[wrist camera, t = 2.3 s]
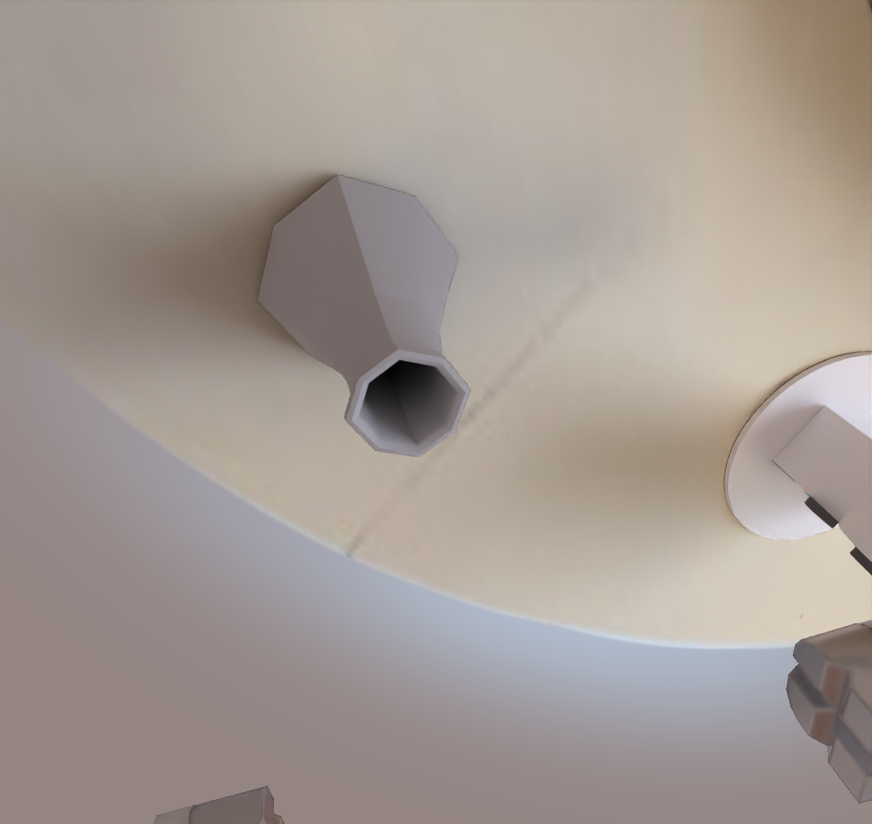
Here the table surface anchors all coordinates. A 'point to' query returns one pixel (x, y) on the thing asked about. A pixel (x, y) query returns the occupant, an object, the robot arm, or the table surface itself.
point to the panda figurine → (809, 457)
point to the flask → (371, 308)
